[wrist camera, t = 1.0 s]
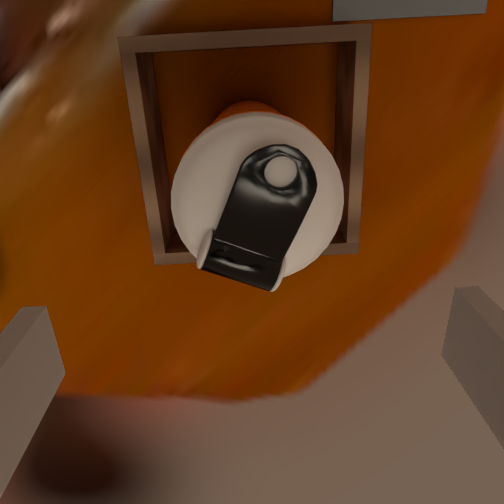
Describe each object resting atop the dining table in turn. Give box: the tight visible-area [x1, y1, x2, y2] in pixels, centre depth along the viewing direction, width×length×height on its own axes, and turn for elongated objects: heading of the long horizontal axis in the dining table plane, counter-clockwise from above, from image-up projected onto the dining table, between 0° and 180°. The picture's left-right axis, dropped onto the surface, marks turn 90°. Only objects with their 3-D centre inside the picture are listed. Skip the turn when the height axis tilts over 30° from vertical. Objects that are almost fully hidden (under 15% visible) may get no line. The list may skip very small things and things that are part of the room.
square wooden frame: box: [118, 23, 372, 265], centre depth 35 cm, size 17×17×6 cm
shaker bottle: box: [171, 100, 344, 292], centre depth 28 cm, size 9×9×20 cm
